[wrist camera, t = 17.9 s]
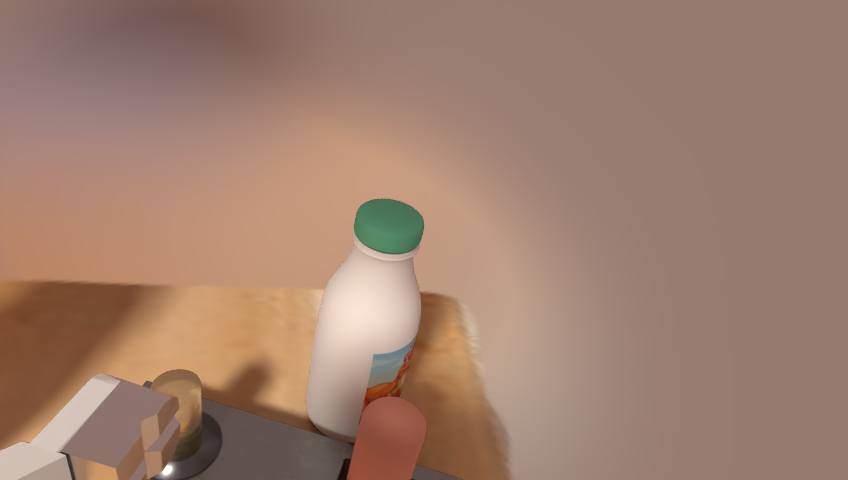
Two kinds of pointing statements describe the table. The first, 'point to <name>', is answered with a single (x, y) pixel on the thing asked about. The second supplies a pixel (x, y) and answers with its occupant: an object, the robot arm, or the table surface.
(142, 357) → the table surface
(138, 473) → the robot arm
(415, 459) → the red peg
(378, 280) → the milk bottle
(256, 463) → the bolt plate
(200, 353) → the table surface
